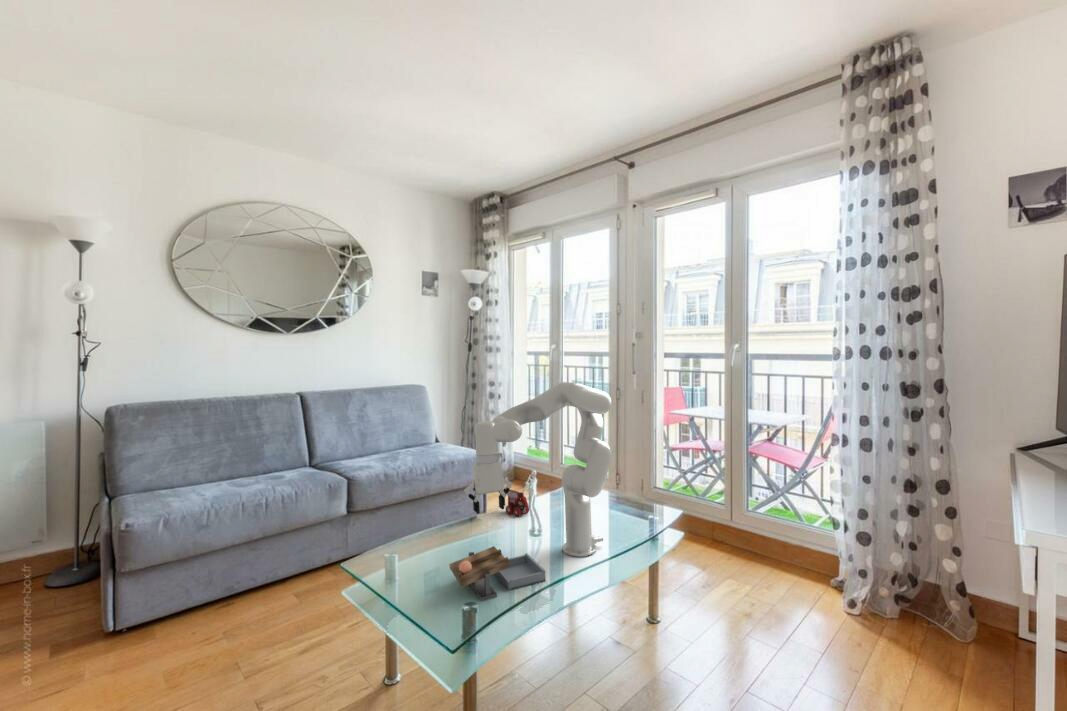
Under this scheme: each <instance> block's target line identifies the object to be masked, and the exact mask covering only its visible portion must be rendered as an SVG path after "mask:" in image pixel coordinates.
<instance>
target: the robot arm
mask: <svg viewBox="0 0 1067 711" xmlns="http://www.w3.org/2000/svg"><path fill="white" fill-rule="evenodd" d="M566 407H572V408H577V410H578V413H579V415H580V419H581V420H580V422H581V423H580V426H579V427H580V428H579V431H578V434H577V438H576V441H575V444H574V447H573V457H574V458H575V459H576V460H577V461H579V462H581V463H583V464H586V465H585V466H583V465H579V464H570V465H567V466H566V467H565V468H564V470H563V471H562V475H561V483H562V490H563V493H564V506H565V508H564V509H565V510H564V511H565V512H564V513H565V538H566V540H565V541H566V542H565V543H563V544H562V552H563V553H564V554H566V555H568V556H571V557H578V558H579V557H581V558H583V557H588V555H589V556H592V555H593V554H595V553H596V551H597V546H596V544H597V543H600V542H603V541H604V537H603V536H602V535H599V536H597V535H596V534H594V535H592V507H591V506H592V505H591V502H592V501H591V498H595V497H597V496H599V495H600V494H601V492H602V490H603V488H604V486H605V482H606V479H607V476H608V472H609V469H610V465H611V461H612V449H611V447H610V445H609V444H608V443H607V442H605V441H603V440H601V438H602V434H603V431H604V430H603V429H604V419H603V416H602V415H604V414H607V413H608V412H609V411H610V410H611V407H612V398H611V397H610V395H609V394H608V393H607V392H605V391H604V390H601V389H597V388H593V387H591V386H587V385H584V384H581V383H577V382H570V381H569V382H567V381H566V382H565V381H562V382H559V383H556V384H555V385H553V386H552V387H550V388H548V389H547V390H545V391H544V392H542V393H541V394H538V396H536V397H534V398H533V399H530V400H527V401H525V402H522V403H520V404H518V405H515V406H512V407H511V408H509V409H507V410H505V411H503V412H502V413H500V414H498V415H497V416H496V417H494V418H493V419H492V420H485V421H484V420H483V421H479V422H477V423H476V424H475V427H474V430H475V434H474V435H475V437H474V438H475V458H476V460H475V462H474V463H473V467H472V480H471V483H470V484H469V485H468V486H466V488H464V489H463V491H464V493H465V495H466V496H467V497H468V498H469V499H471V501H472V503H473V504H472V505H473V506H472V508H473V512H475V513H476V514H477V515H479V514H480V512H481V510H480V502H479V499H480V498H481V495H486V494H492V493H499V495H498V507H499V508H500V509H501V510H504V509H505V506H506V497H507V493H508V492H509V490H511V488H512V486H513V482H511V481H510V480H508V479H506V478H504V470H503V467H502V462H501V461H500V458H503V457H504V455H503V453H501V452H499V443H513V442H516V441H518V440H519V439H520V438H521V436H522V434H523V428H522V425H525V424H528V423H536V422H541V421H545V420H547V419H548V418H550V417H551V416H553V415H555V414H556V413H557V412H559V411H562V410H563V409H564V408H566ZM471 491H473V494H472V493H471ZM591 554H592V555H591Z"/></svg>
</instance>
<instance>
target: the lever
mask: <svg viewBox="0 0 1067 711" xmlns="http://www.w3.org/2000/svg"><path fill="white" fill-rule="evenodd" d="M502 553H503V552H502V549H497V548H496V547H495V546H492V547H491V546H490V547H488V548H486V549H484V550H481V551H478V552H476V553H474V554H473V555H471V556H469V555H468V556H466V557H464V558H461V559H459V560H456V561H454V562H451V563H449V564H448V565H449V566H448V567H449V569H450V571H451V573H452V574H453V576H454V577H455V579H456V581H457V582H458V584H459V585H460V587H461V588H464V587H466V586H470V584H471V583H473V582H476V581H478V580H480V579H483V578H484V573H486V572H490V576H493V575H494V574H495V573H497V572H499V571H501V570H504V569H506V568H508V567H510V564H509V560H508V559H509V557H508V556H504V555H503V554H502ZM463 561H469V562H470V563H471V565H472V569H471V572H470V573H467V574H465V575H463V574H461V572H460V571H459V565H460V563H461V562H463Z"/></svg>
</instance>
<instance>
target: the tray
mask: <svg viewBox="0 0 1067 711" xmlns="http://www.w3.org/2000/svg"><path fill="white" fill-rule="evenodd" d="M508 560H509V564H510V567H508V568H506V569H504V570H501V571H499V572H497V573H494V574H495V575H496V577H497V578H498V579H499V580H500V582H501V583H502V584H503V585H504V587H506V589H507V590H508V591H513V590H517V589H521V588H524V587H529V586H532V585H537V584H540V583H539V582H541V583H543V581H544V582H546V580H547V579H546V578H547V577H546V570H545V568H544V567H543V566H542V565H540V564H539V563H538V562H537V561H536V560H535V559H534V558H533V557H532V556H530V555H529V553H528V552H526V553H524V554H523V555H519V556H515V557H511V558H509V557H508ZM536 583H537V584H536Z"/></svg>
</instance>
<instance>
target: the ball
mask: <svg viewBox="0 0 1067 711" xmlns="http://www.w3.org/2000/svg"><path fill="white" fill-rule="evenodd" d="M471 569H472V565H471V563H470V562H469V561H463V562H461V563H460V565H459V571H460V572H461V574H463V575H465V574H467V573H470V572H471Z"/></svg>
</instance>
